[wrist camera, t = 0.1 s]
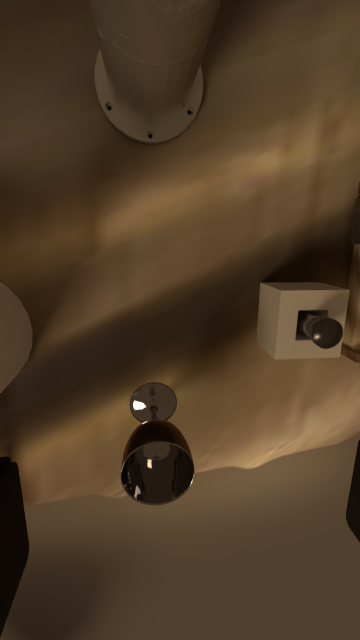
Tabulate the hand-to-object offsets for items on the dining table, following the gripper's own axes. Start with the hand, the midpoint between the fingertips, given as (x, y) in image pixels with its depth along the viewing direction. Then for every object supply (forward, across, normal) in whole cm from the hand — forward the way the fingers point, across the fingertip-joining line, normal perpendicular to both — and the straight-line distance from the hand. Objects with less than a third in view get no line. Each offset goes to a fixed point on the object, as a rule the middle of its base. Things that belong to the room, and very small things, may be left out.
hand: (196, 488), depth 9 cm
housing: (+37, -20, +4) cm, 42 cm away
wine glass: (+37, 0, +18) cm, 41 cm away
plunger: (+33, -20, +4) cm, 39 cm away
